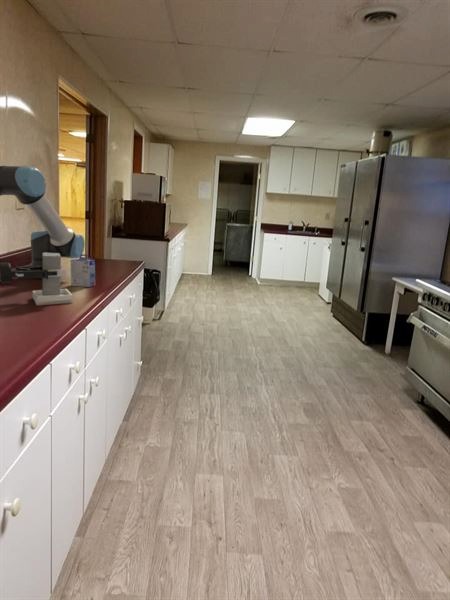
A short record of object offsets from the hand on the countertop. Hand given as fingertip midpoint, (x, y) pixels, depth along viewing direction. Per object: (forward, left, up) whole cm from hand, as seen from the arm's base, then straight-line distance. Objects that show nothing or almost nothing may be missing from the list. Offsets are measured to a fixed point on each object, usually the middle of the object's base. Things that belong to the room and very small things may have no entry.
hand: (63, 270), depth 168 cm
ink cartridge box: (-26, +12, -12) cm, 31 cm away
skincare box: (0, -5, -9) cm, 10 cm away
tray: (0, -5, -12) cm, 13 cm away
